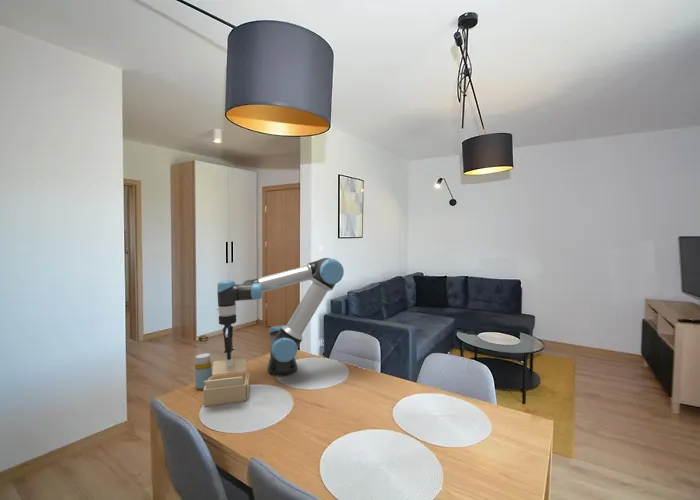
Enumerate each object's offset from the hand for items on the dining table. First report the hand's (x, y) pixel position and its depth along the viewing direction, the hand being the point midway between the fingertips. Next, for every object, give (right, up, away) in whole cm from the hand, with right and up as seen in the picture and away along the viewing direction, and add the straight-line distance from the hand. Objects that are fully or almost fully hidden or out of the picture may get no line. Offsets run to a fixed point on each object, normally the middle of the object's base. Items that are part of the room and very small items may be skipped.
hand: (229, 365), depth 154 cm
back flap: (0, 0, 0) cm, 1 cm away
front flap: (+4, -1, -17) cm, 17 cm away
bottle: (-13, -11, +2) cm, 17 cm away
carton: (+2, -11, -8) cm, 13 cm away
